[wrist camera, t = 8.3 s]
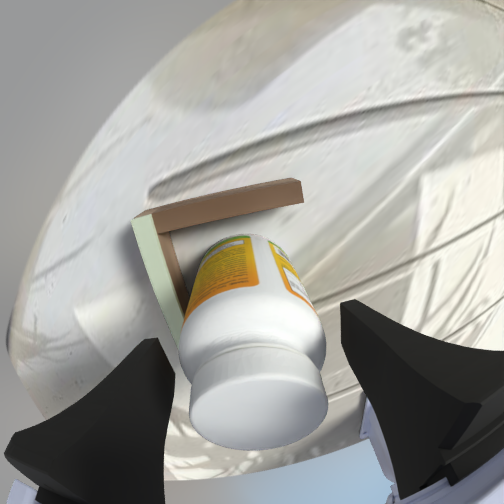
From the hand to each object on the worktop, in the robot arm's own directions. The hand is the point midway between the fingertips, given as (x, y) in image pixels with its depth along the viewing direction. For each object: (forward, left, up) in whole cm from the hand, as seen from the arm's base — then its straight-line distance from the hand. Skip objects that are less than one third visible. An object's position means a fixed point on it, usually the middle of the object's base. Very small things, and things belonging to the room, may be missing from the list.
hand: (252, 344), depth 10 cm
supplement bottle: (0, 0, -6) cm, 6 cm away
